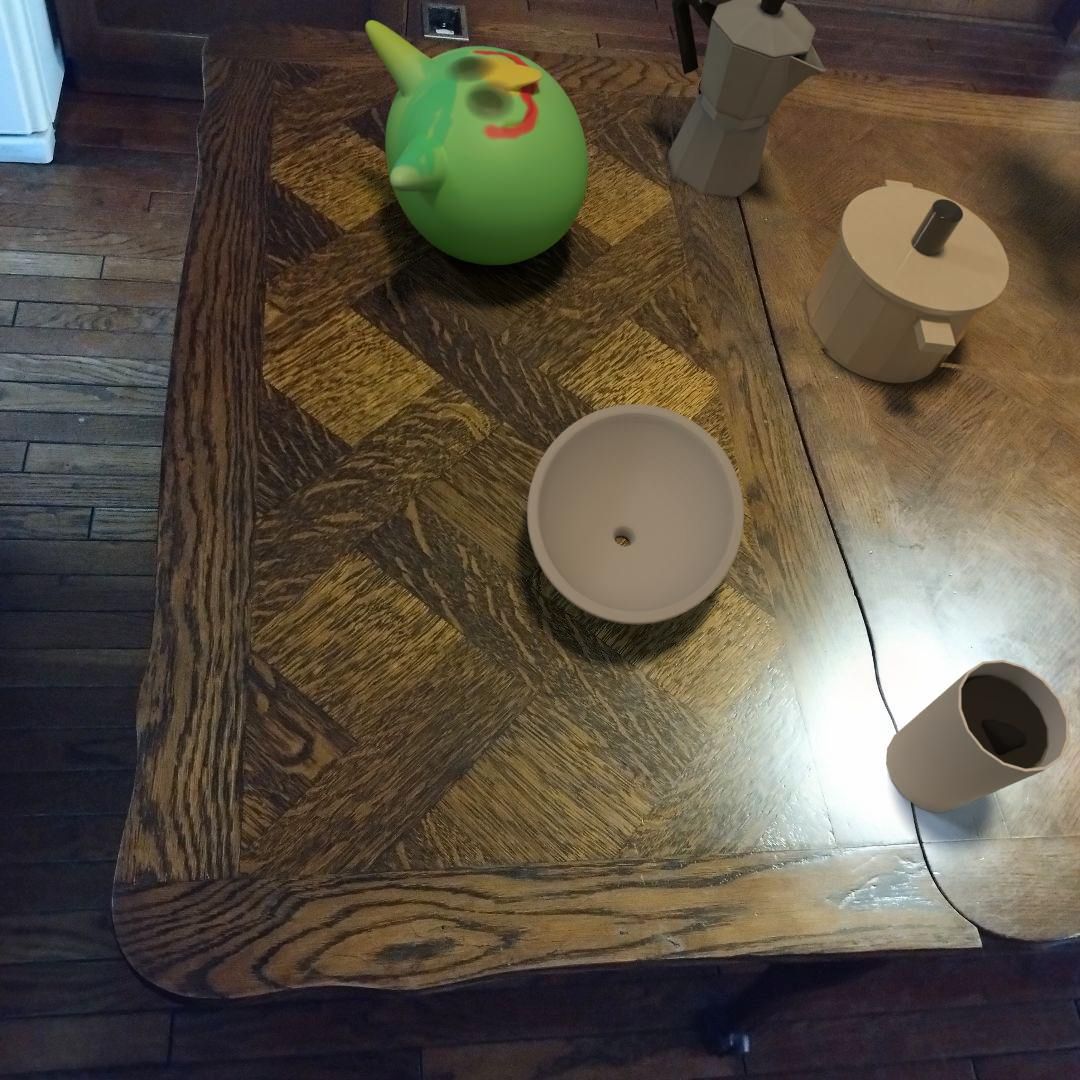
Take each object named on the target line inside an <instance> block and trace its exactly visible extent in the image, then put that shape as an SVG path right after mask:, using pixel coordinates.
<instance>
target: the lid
mask: <svg viewBox="0 0 1080 1080" xmlns="http://www.w3.org/2000/svg"><path fill="white" fill-rule="evenodd" d="M838 236H840V242H841V245H842V249H843V251H844V253H845V255H846V257H847V259H848V260H849V262H850V264H851V265H852V266H853V268H854V269H855V270H856V271H857V273H858V274H859V275H860V276H861V277H862V278H863V279H864V280H865V281H866V282H867V283H869V284H870V285H871V286H872V287H873V288H875V289H876V290H878V291H879V292H880V293H882V294H883V295H885V296H887V297H888V298H890V299H892V300H894V301H896V302H898V303H900V304H902V305H904V306H907V307H909V308H912V309H915V310H918V311H922V312H926V313H930V314H936V315H945V316H959V315H966V314H971V313H975V312H978V311H980V310H982V309H984V310H985V309H987V308H988V307H990V306H991V305H993V304H994V303H995V302H996V301H997V300H998V299H999V297H1001V295H1002V293H1003V292H1004V290H1005V288H1006V287H1007V284H1008V281H1009V275H1010V263H1009V260H1008V256H1007V253H1006V250H1005V248H1004V246H1003V245H1002V243H1001V241H1000V238H998V237H997V235H996V233H995V232H994V231H993V230H992V229H991V228H990V227H989V226H988V224H987V223H985V222H984V221H983V220H982V219H981V218H980V217H979V216H977V215H976V214H975V213H974V212H973V211H971V210H969V208H966V206H964V205H962V204H960V203H958V202H956V201H955V200H953V199H951V198H949V197H947V196H944V195H943V194H939V193H937V192H934V191H931V190H928V189H924V188H921V187H914V186H913V187H909V186H883V187H882V186H878V187H874V188H871V189H868V190H865V191H863V192H862V193H860V194H858V195H857V196H855V197H854V198H853V199H852V200H851V201H850V202H849V204H847V206H846V207H845V209H844V212H843V213H842V216H841V218H840V221H839V229H838Z"/></svg>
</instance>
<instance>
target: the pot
mask: <svg viewBox="0 0 1080 1080" xmlns="http://www.w3.org/2000/svg"><path fill="white" fill-rule="evenodd" d="M883 186H909V187H914V185H913V183H912V182H906V181H899V180H892V179H885V180H884V182H883V184H882V185H881V187H883ZM805 304H806V310H807V317H808V321H809V324H810V327H811V328H812V329H813V332H814V333H815V334H816V336H817V337H818V338H819V340H820V342H821V343H822V345H823V346H824V347H821V349H822V351H823V352H824V353H825V354H827V356H828V357H830V358H831V359H832V360H833V361H834V362H836V363H837V364H839V365H840V366H842V367H843V368H845V369H847V370H848V371H850V372H852V373H854V374H856V375H858V376H861V377H864V378H866V379H869V380H874V381H875V382H876V381H877V382H882V383H891V384H906V383H911V382H916V381H919V380H922V379H924V378H926V377H928V376H930V375H931V374H933V373H934V372H935V371H936V370H937V369H939V367H940V366H941V365H942V364H943V363H944V362H946V360H947V358H948V357H949V356H950V355H951V354H952V352H953V351H954V349H955V348H956V347H957V345H958V344H959V343H960V341H961V340H962V339H963V338H964V336H965V335H966V333H967V332H968V331H969V329H970V328H971V327H972V325H973V324H974V323H975V322H976V320H977V319H978V318H979V316H980V315H981V314H982V312H983V311H984V310H985V308H984V309H982V310H980V311H978V312H975V313H971V314H966V315H959V316H945V315H936V314H930V313H926V312H922V311H918V310H915V309H912V308H909V307H907V306H904V305H902V304H900V303H898V302H896V301H894V300H892V299H890V298H888V297H887V296H885V295H883V294H882V293H880V292H879V291H878V290H876V289H875V288H873V287H872V286H871V285H870V284H869V283H867V282H866V281H865V280H864V279H863V278H862V277H861V276H860V275H859V274H858V273H857V271H856V270H855V269H854V268H853V266H852V265H851V264H850V262H849V260H848V259H847V257H846V255H845V253H844V251H843V249H842V245H841V242H840V236H839V235H838V236H837V237H836V240H835V242H834V243H833V245H832V247H831V249H830V251H829V253H828V254H827V256H826V258H825V260H824V262H823V264H822V266H821V268H820V270H819V271H818V273H817V275H816V277H815V279H814V281H813V283H812V285H811V288H810V290H809V293H808V295H807V298H806V301H805Z"/></svg>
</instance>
